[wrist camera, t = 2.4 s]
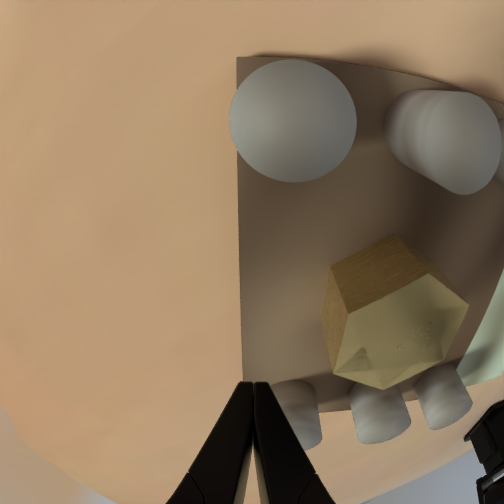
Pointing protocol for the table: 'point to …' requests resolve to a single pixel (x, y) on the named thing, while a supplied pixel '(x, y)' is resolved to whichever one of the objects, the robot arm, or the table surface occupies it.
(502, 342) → the board
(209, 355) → the table surface
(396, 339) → the hexagonal box
